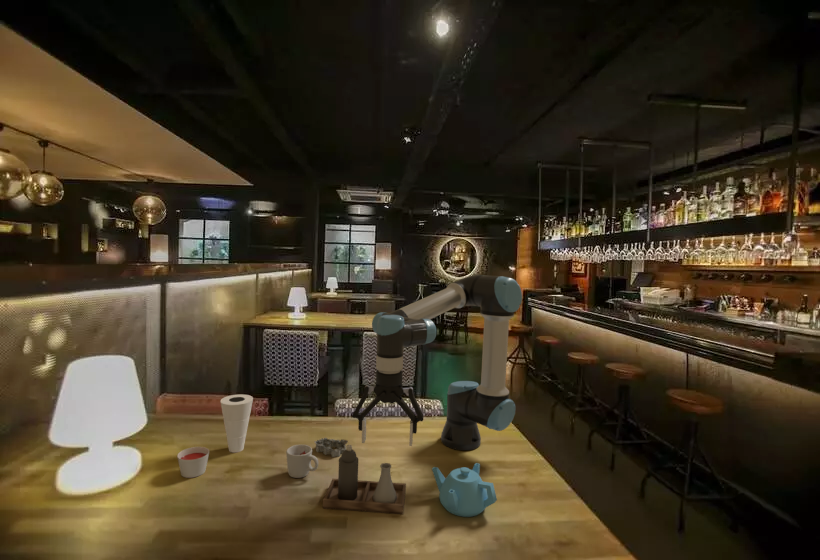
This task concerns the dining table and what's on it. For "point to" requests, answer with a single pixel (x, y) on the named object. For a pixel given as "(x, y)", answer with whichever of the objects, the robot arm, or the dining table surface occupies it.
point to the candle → (193, 461)
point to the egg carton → (325, 445)
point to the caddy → (365, 498)
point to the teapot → (464, 491)
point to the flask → (385, 486)
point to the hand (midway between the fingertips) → (387, 442)
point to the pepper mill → (348, 475)
